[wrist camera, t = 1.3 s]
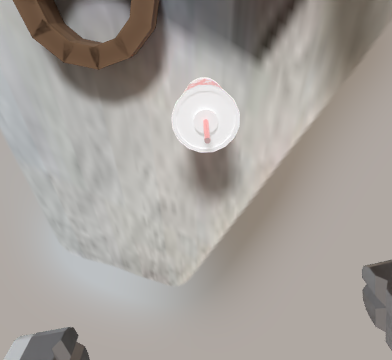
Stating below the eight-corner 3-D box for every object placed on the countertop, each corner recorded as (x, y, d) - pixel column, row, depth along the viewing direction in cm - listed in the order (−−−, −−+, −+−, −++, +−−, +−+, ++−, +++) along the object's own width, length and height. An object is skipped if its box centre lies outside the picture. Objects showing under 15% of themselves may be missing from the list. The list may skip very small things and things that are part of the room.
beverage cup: (180, 66, 34) (170, 93, 22) (235, 74, 35) (257, 105, 22) (173, 120, 37) (162, 171, 25) (225, 127, 38) (239, 181, 25)
